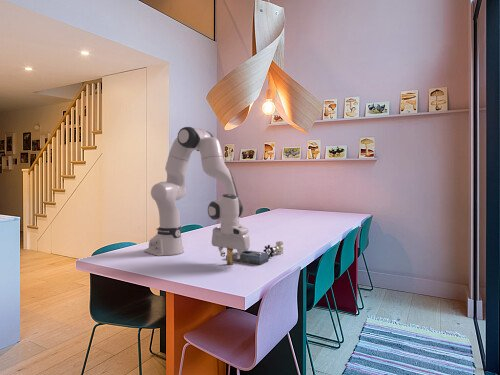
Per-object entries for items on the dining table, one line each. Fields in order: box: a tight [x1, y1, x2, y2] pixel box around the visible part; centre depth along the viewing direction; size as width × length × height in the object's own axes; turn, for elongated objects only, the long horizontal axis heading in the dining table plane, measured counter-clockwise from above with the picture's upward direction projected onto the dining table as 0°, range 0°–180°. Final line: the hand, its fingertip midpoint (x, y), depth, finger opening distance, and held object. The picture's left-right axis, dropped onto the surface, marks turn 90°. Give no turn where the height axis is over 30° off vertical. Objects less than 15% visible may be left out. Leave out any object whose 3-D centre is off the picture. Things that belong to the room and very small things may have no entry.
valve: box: [263, 241, 284, 259], centre depth 178 cm, size 7×7×12 cm
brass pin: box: [226, 246, 234, 266], centre depth 161 cm, size 4×4×9 cm
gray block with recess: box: [225, 249, 269, 266], centre depth 168 cm, size 20×8×5 cm, turn 57°
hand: (230, 257), depth 161 cm, fingers open, 7 cm apart
